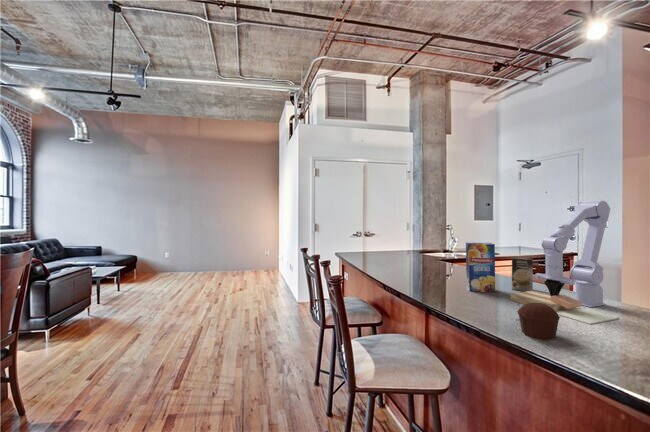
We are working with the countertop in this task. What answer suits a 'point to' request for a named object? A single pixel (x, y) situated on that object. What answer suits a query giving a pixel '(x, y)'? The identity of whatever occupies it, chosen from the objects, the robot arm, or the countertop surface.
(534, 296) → the board
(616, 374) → the countertop surface
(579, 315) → the placemat
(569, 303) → the coaster
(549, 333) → the muffin
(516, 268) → the coffee box
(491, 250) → the juice carton
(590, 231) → the robot arm
